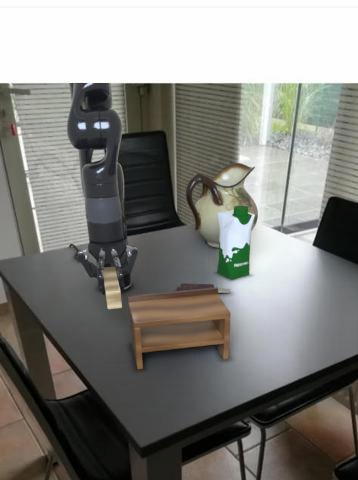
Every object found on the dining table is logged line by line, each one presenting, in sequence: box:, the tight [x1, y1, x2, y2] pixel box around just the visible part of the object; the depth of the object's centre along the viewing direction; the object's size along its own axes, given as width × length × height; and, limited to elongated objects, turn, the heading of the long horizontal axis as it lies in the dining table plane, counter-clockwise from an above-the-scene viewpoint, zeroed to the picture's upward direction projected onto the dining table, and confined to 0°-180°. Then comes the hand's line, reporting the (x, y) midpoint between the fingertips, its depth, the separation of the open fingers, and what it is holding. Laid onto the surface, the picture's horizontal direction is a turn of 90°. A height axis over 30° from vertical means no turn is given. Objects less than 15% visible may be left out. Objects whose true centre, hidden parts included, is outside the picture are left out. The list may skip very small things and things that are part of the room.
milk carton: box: [216, 206, 255, 281], centre depth 141 cm, size 9×9×20 cm
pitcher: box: [185, 162, 259, 249], centre depth 164 cm, size 22×24×25 cm
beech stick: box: [103, 267, 123, 310], centre depth 111 cm, size 15×3×4 cm, turn 11°
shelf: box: [127, 286, 231, 370], centre depth 104 cm, size 11×20×12 cm, turn 101°
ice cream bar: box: [176, 283, 232, 294], centre depth 135 cm, size 5×2×15 cm
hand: (111, 291), depth 112 cm, fingers closed on beech stick, 3 cm apart
